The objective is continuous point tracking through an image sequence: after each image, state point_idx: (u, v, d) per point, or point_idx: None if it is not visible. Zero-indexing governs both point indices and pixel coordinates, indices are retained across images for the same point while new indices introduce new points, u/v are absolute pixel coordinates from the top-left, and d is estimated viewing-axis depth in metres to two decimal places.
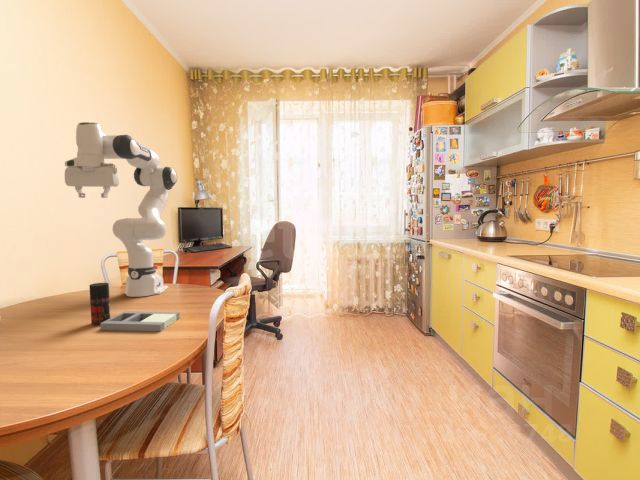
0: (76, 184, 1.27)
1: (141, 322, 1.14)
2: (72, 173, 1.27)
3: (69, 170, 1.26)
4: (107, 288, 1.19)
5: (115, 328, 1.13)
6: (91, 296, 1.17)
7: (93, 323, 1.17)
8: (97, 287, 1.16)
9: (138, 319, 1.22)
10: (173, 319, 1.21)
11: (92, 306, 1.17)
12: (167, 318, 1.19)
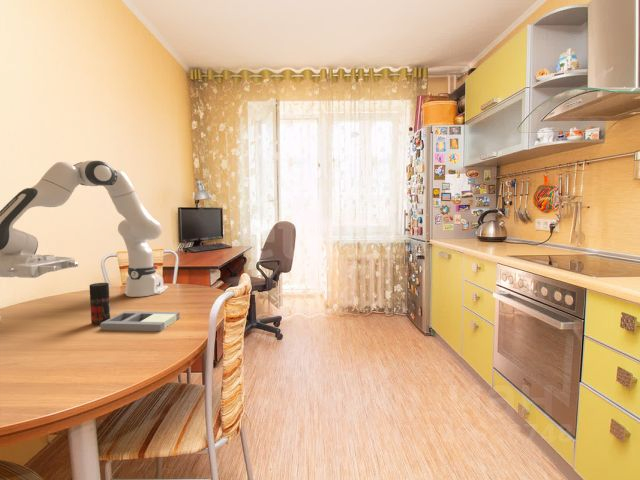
0: (65, 268, 1.24)
1: (141, 322, 1.14)
2: None
3: None
4: (107, 288, 1.19)
5: (115, 328, 1.13)
6: (91, 296, 1.17)
7: (93, 323, 1.17)
8: (97, 287, 1.16)
9: (138, 319, 1.22)
10: (173, 319, 1.21)
11: (92, 306, 1.17)
12: (167, 318, 1.19)
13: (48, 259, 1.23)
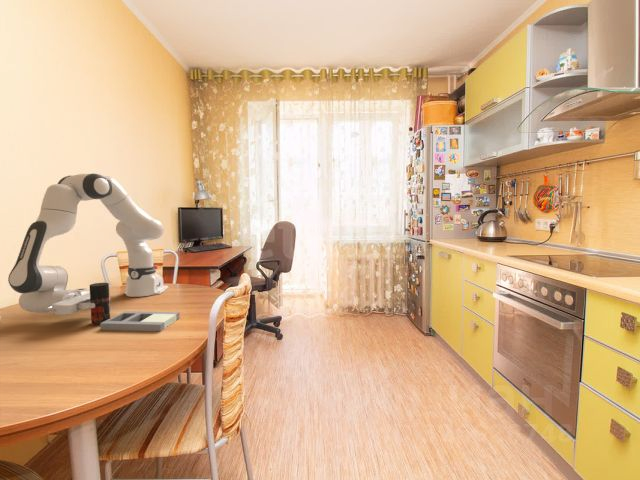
0: None
1: (141, 322, 1.14)
2: None
3: None
4: (107, 288, 1.19)
5: (115, 328, 1.13)
6: (91, 296, 1.17)
7: (93, 323, 1.17)
8: (97, 287, 1.16)
9: (138, 319, 1.22)
10: (173, 319, 1.21)
11: None
12: (167, 318, 1.19)
13: (83, 294, 1.23)
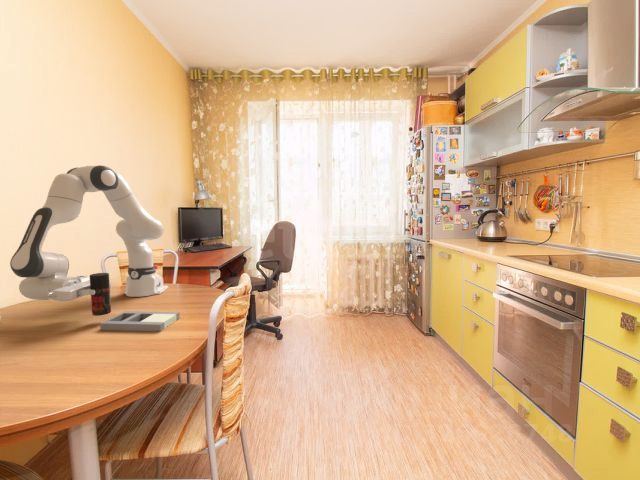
0: None
1: (141, 322, 1.14)
2: None
3: None
4: (107, 278, 1.19)
5: (115, 328, 1.13)
6: (92, 286, 1.17)
7: (94, 313, 1.18)
8: (98, 277, 1.16)
9: (138, 319, 1.22)
10: (173, 319, 1.21)
11: (93, 296, 1.17)
12: (167, 318, 1.19)
13: (83, 281, 1.23)
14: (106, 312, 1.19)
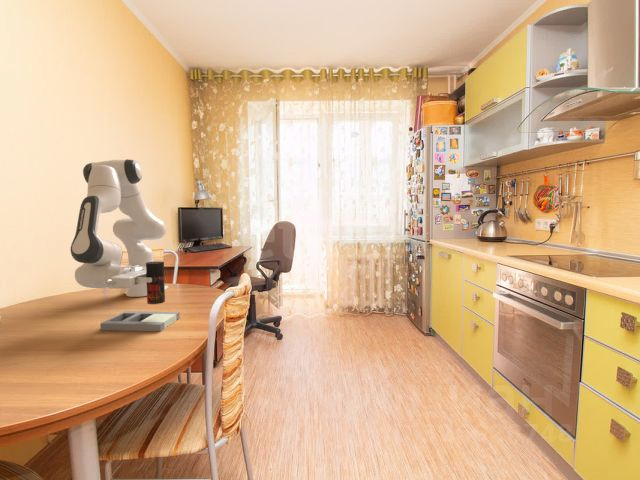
0: None
1: (141, 322, 1.14)
2: None
3: None
4: (163, 266, 1.18)
5: (115, 328, 1.13)
6: (148, 274, 1.15)
7: (150, 302, 1.16)
8: (155, 265, 1.15)
9: (138, 319, 1.22)
10: (173, 319, 1.21)
11: (149, 284, 1.15)
12: (167, 318, 1.19)
13: (136, 270, 1.22)
14: (161, 301, 1.17)
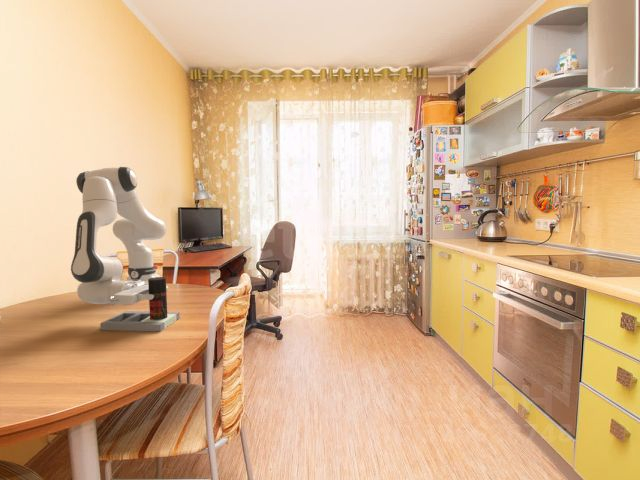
0: None
1: (141, 322, 1.14)
2: None
3: None
4: (165, 282, 1.19)
5: (115, 328, 1.13)
6: (150, 290, 1.16)
7: (152, 318, 1.17)
8: (157, 281, 1.16)
9: (138, 319, 1.22)
10: (173, 319, 1.21)
11: (151, 300, 1.16)
12: (167, 318, 1.19)
13: (138, 285, 1.22)
14: (164, 316, 1.18)
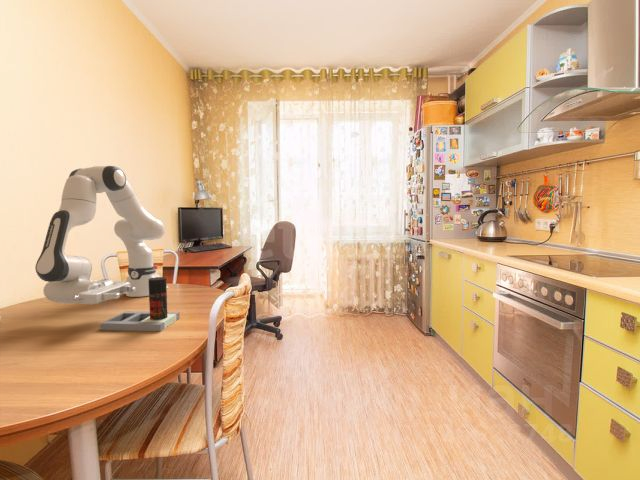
0: (122, 293, 1.24)
1: (141, 322, 1.14)
2: None
3: None
4: (165, 282, 1.19)
5: (115, 328, 1.13)
6: (151, 290, 1.16)
7: (152, 318, 1.17)
8: (157, 281, 1.16)
9: (138, 319, 1.22)
10: (173, 319, 1.21)
11: (152, 300, 1.16)
12: (167, 318, 1.19)
13: (106, 284, 1.23)
14: (164, 317, 1.18)
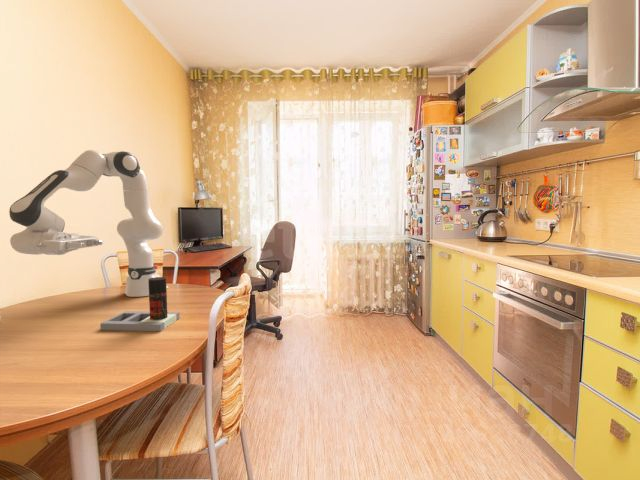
0: (89, 246, 1.26)
1: (141, 322, 1.14)
2: None
3: None
4: (165, 282, 1.19)
5: (115, 328, 1.13)
6: (151, 290, 1.16)
7: (152, 318, 1.17)
8: (157, 281, 1.16)
9: (138, 319, 1.22)
10: (173, 319, 1.21)
11: (152, 300, 1.16)
12: (167, 318, 1.19)
13: (73, 237, 1.25)
14: (164, 317, 1.18)
